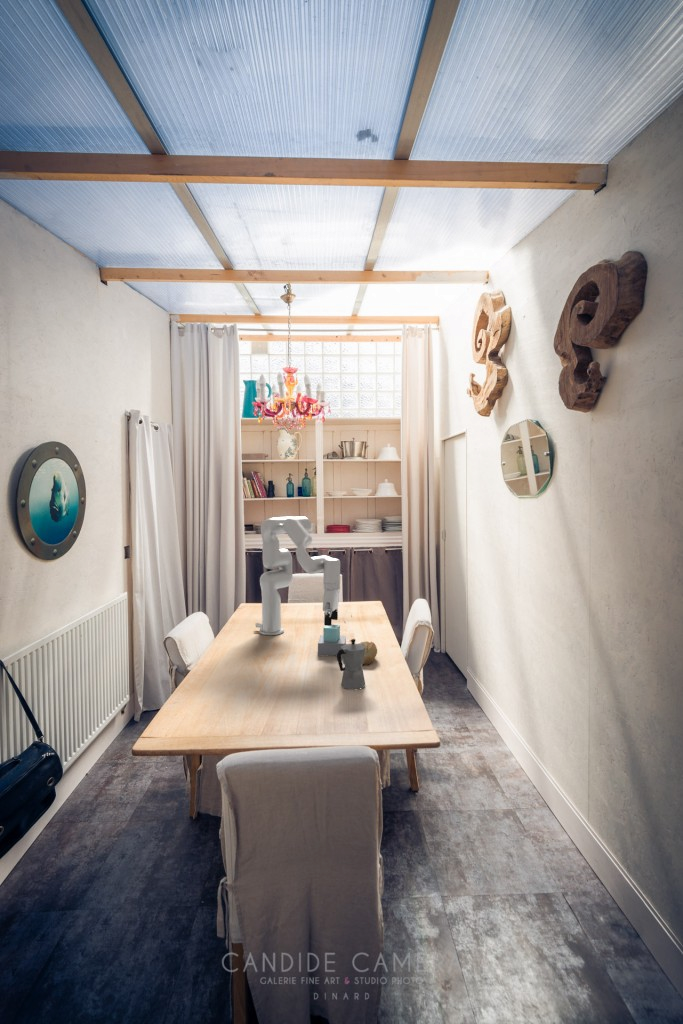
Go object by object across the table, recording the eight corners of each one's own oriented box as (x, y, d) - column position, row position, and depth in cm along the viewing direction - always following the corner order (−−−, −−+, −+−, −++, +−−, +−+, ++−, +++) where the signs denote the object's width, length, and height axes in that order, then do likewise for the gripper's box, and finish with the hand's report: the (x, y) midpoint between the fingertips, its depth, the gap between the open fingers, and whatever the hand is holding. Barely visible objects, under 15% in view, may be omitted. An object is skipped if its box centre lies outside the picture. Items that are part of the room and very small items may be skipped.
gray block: (317, 656, 238) (317, 643, 237) (320, 647, 250) (320, 635, 249) (344, 656, 237) (344, 643, 237) (345, 648, 249) (345, 635, 249)
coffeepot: (355, 677, 212) (355, 633, 210) (373, 683, 205) (373, 638, 204) (328, 688, 200) (328, 641, 199) (346, 695, 194) (346, 647, 193)
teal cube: (323, 640, 241) (323, 627, 241) (327, 637, 247) (327, 624, 246) (336, 641, 239) (336, 628, 239) (339, 638, 245) (339, 625, 245)
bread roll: (377, 655, 239) (377, 637, 239) (376, 666, 224) (376, 648, 224) (356, 654, 240) (356, 637, 239) (354, 666, 225) (354, 647, 225)
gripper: (329, 581, 251) (328, 616, 252) (317, 589, 234) (317, 627, 236) (344, 582, 249) (344, 618, 250) (334, 590, 232) (333, 628, 234)
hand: (331, 622), depth 243 cm, fingers open, 9 cm apart
